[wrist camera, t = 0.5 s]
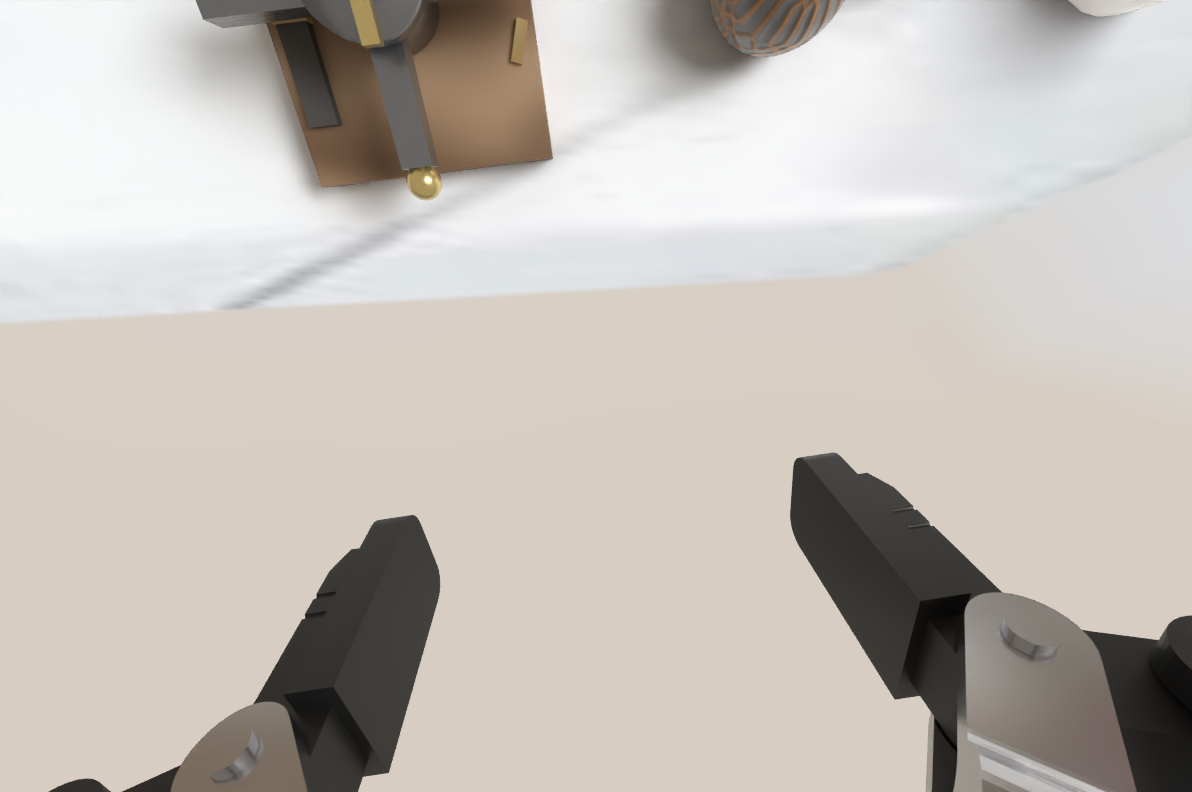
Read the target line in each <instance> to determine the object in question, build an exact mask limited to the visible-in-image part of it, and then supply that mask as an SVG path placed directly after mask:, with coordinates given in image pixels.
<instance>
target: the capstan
mask: <svg viewBox="0 0 1192 792" xmlns="http://www.w3.org/2000/svg"><path fill="white" fill-rule="evenodd" d="M438 1H445V0H196V2H197V5H198V7H199V10H200V12H201V15H202V18H203V20H206V21H208V22H210V23H213V24H215V25H217V26H220V27H222V28H228V27H236V26H244V25H252V24H260V23H268V22H276V21H284V20H292V19H300V18H309V17H315V18H316V19H317V20H318V21H319V22H320V23H321V24H322V25H324V26H325V27H326V28H328V29H329V30H331V31H332V32H334V33H335V34H337V35H339V36H340V37H342V38H344V39H346V40H347V41H349V42H352V43H354V44H357V45H361V46H363V47H365V48H366V49H367V48H369V49H370V53H371V57H372V60H373V64H374V68H375V72H376V75H377V79H378V83H379V87H380V90H381V94H382V98H383V101H384V105H385V109H386V113H387V116H388V120H389V124H390V128H391V131H392V135H393V139H394V142H395V146H396V150H397V154H398V157H399V161H400V165H401V169H402V170H409V171H408V173H407V177H406V181H407V186H408V188H409V190H410V191H411V193H412V194H413V195H414V196H416V197H417V198H419V199H422V200H431V199H434V198H435V197H437V196H438V195H439V193H440V191H441V188H442V181H441V178H440V175H439V174H438V172H437V171H436V170H435V169H434V168H433V167H437V166H439V165H438V161H437V157H436V153H435V148H434V144H433V140H432V136H431V131H430V127H429V123H428V119H427V115H426V110H425V106H424V102H423V98H422V93H421V89H420V85H419V81H418V76H417V72H416V68H415V64H414V59H413V55H412V54H415V53H417V52H419V51H421V50H423V49H424V48H425V47H426V46H427V45H428V44H429V43H430V42H431V40H432V38H433V37H434V35H435V32H436V30H437V26H438V21H439V4H438Z"/></svg>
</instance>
